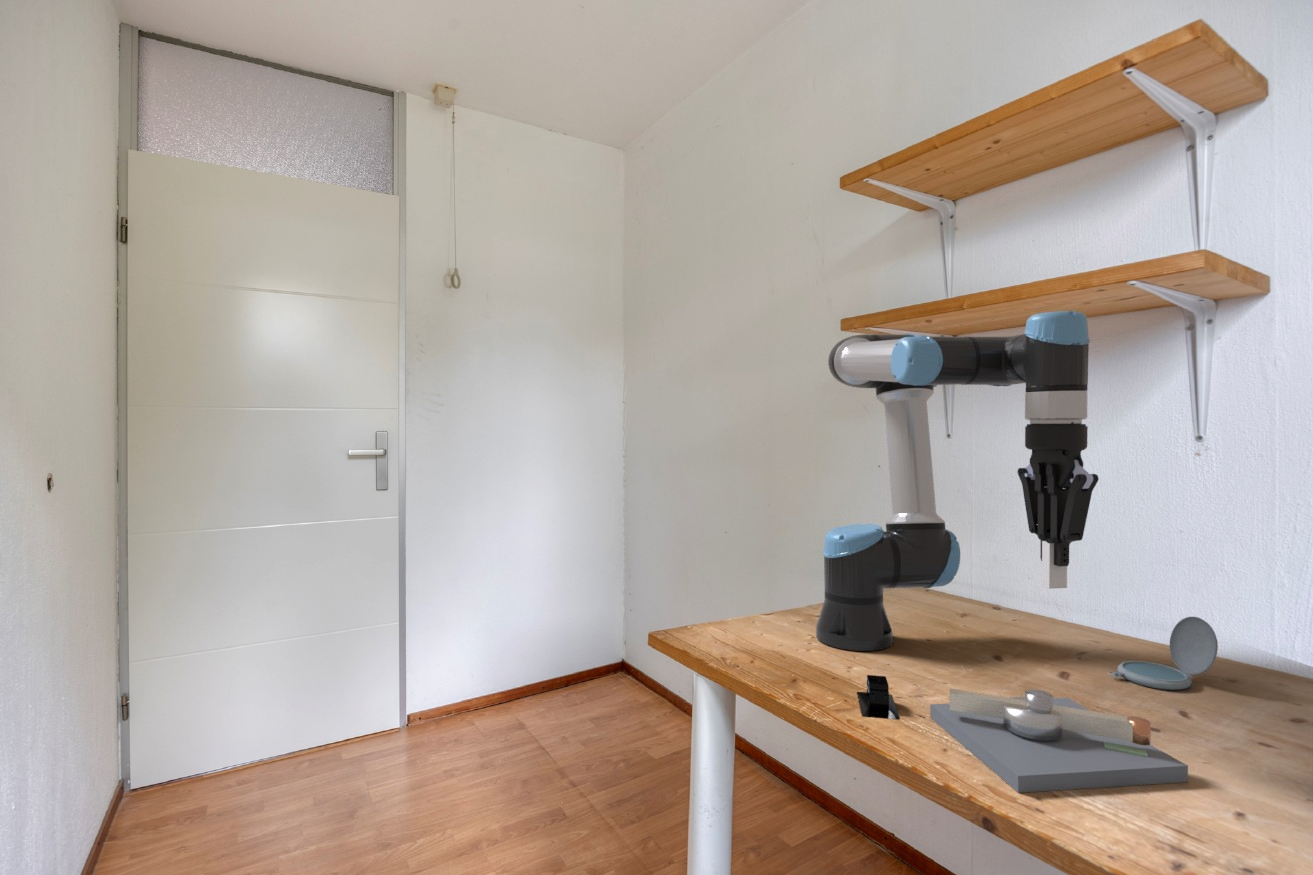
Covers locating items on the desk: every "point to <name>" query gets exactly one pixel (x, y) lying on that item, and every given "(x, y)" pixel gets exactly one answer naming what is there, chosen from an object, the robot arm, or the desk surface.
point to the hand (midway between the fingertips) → (1054, 586)
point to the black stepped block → (877, 699)
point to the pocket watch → (1176, 658)
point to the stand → (1058, 755)
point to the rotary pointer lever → (1049, 717)
